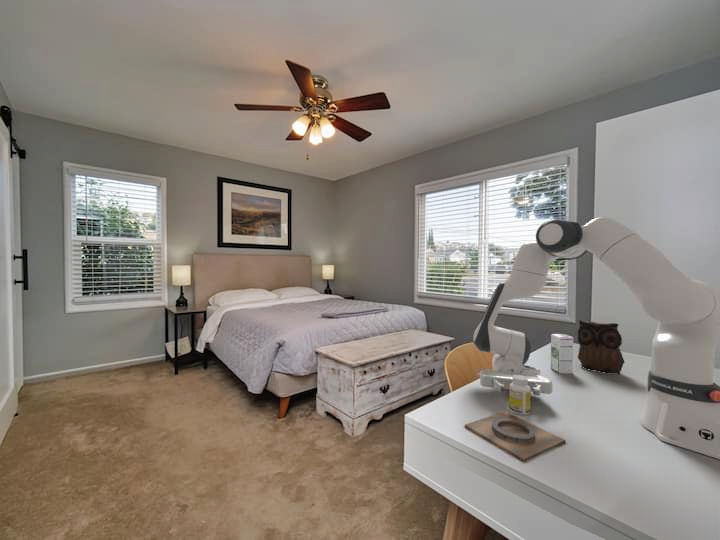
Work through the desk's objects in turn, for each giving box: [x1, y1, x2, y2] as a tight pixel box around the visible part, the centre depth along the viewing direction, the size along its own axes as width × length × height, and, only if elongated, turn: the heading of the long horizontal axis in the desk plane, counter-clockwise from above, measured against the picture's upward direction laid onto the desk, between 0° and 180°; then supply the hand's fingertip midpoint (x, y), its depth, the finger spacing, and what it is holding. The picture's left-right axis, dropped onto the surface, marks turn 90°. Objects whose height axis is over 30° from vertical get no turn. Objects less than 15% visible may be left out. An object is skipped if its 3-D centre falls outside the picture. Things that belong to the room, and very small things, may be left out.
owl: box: [577, 319, 626, 375], centre depth 127 cm, size 13×13×20 cm
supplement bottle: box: [508, 375, 532, 416], centre depth 89 cm, size 5×5×10 cm
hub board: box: [464, 411, 566, 463], centre depth 76 cm, size 16×16×2 cm
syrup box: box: [550, 333, 574, 374], centre depth 124 cm, size 6×6×14 cm
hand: (519, 390), depth 90 cm, fingers open, 8 cm apart
